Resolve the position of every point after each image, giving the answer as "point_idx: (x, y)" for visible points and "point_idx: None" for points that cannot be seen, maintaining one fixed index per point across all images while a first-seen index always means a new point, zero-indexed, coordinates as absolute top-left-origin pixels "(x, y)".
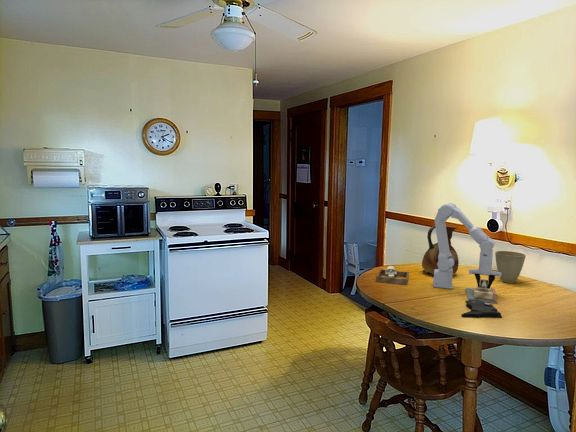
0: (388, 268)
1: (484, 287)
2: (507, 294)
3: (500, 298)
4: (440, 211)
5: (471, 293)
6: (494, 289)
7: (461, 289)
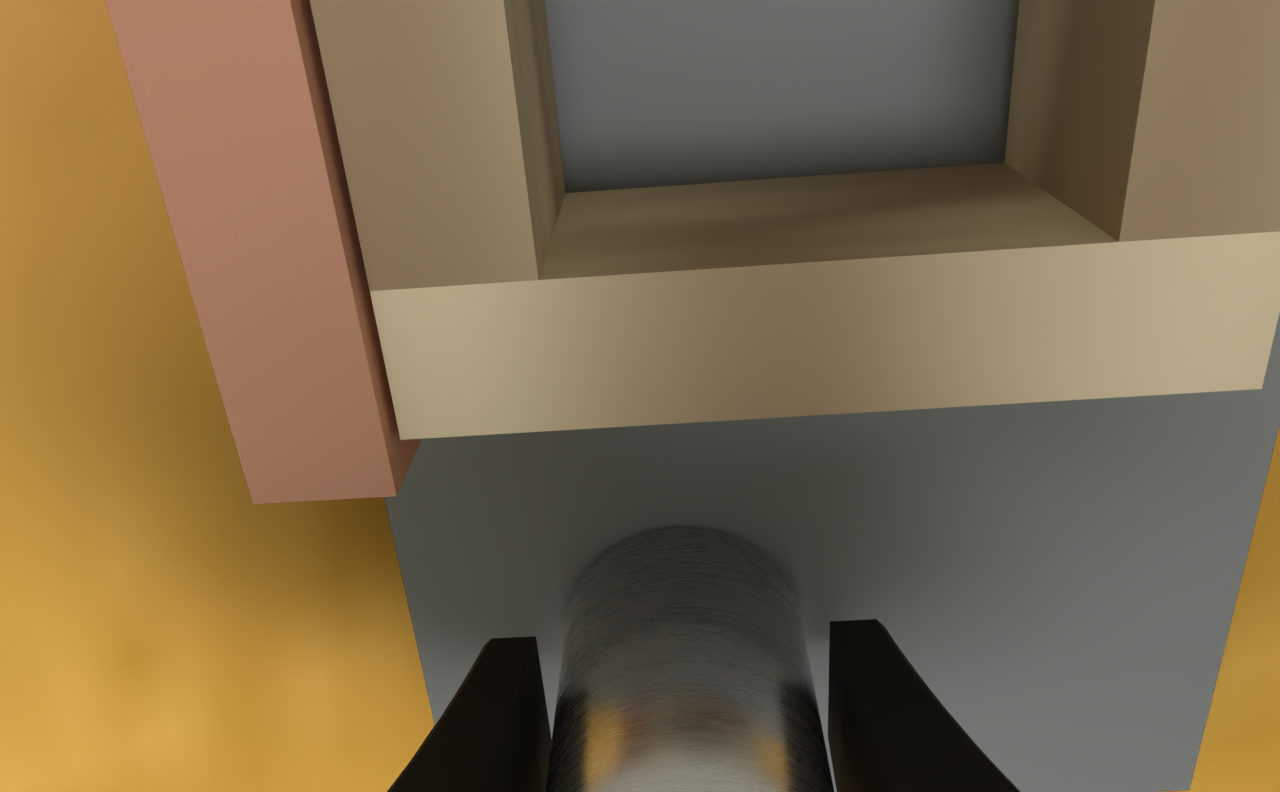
0: None
1: (669, 664)
2: (44, 766)
3: (149, 315)
4: None
5: None
6: (212, 340)
7: (1272, 718)
